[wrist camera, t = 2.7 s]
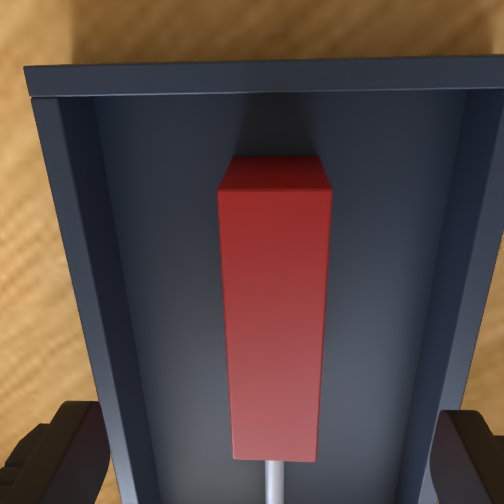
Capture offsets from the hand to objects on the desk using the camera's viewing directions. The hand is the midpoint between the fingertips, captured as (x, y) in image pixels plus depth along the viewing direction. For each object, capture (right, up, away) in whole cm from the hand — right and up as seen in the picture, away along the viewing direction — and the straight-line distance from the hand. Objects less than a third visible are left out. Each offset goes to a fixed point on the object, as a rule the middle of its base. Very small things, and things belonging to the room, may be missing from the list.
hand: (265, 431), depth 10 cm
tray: (+1, -1, +9) cm, 9 cm away
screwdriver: (+1, -1, +8) cm, 9 cm away
